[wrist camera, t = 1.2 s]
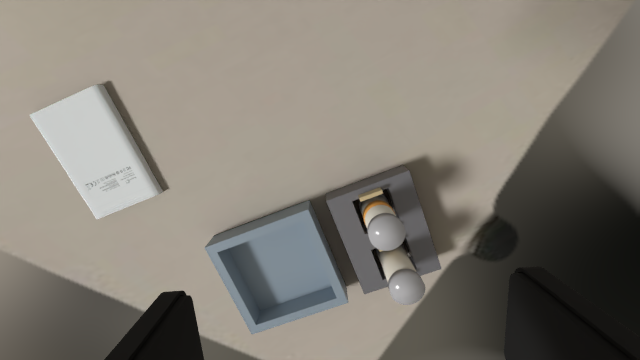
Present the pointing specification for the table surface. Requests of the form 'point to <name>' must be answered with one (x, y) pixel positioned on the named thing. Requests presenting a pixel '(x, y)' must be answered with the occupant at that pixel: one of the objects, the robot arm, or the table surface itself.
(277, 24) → the table surface
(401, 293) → the fuse
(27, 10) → the table surface
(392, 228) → the marked fuse
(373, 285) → the fuse holder
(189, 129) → the table surface
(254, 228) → the tray
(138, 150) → the external hard drive
